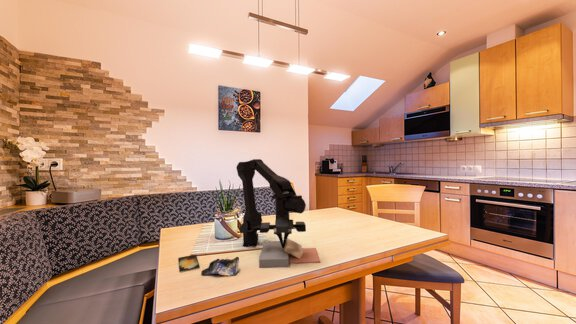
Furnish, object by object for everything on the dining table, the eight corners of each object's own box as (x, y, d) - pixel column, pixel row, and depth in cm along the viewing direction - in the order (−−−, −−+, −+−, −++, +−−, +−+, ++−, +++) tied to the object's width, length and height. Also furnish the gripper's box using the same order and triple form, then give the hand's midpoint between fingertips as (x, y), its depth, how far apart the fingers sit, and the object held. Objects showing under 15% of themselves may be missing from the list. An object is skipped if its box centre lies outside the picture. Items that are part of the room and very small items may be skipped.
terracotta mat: (289, 263, 92) (289, 262, 92) (288, 249, 106) (288, 248, 106) (320, 262, 92) (320, 261, 92) (315, 248, 106) (315, 247, 106)
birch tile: (284, 250, 94) (287, 245, 94) (284, 242, 103) (287, 237, 103) (300, 258, 94) (302, 253, 94) (298, 250, 103) (301, 245, 103)
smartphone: (196, 254, 103) (200, 267, 89) (196, 255, 103) (200, 269, 89) (177, 257, 99) (179, 272, 86) (178, 259, 99) (179, 273, 86)
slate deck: (259, 267, 89) (259, 259, 89) (264, 247, 109) (264, 241, 109) (288, 266, 89) (288, 258, 89) (288, 247, 109) (288, 240, 109)
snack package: (211, 286, 77) (244, 272, 85) (209, 265, 78) (241, 253, 86) (198, 278, 87) (228, 267, 94) (196, 260, 87) (226, 250, 95)
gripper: (257, 215, 90) (258, 256, 90) (306, 214, 90) (307, 254, 91) (260, 209, 101) (261, 245, 102) (304, 208, 102) (305, 244, 102)
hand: (283, 247), depth 99 cm, fingers closed
